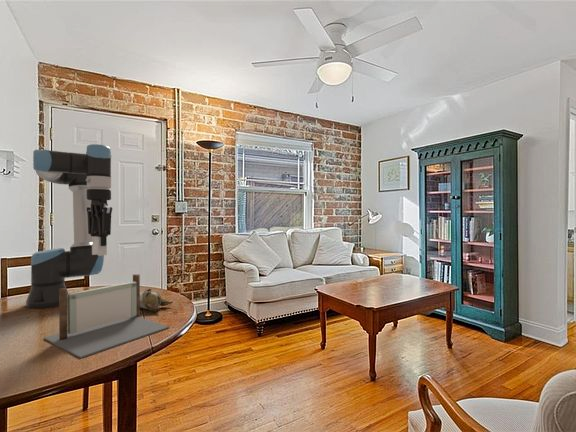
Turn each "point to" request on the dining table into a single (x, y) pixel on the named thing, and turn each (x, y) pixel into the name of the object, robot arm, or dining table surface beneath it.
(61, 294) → the gate posts
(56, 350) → the dining table surface
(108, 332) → the mat
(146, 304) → the ceramic sculpture
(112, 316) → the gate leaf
